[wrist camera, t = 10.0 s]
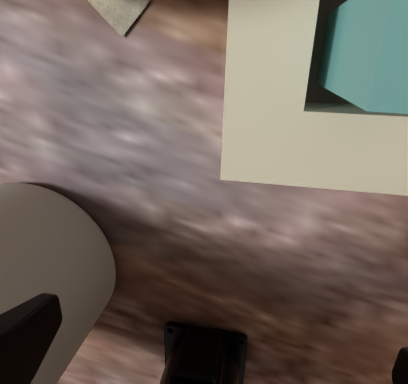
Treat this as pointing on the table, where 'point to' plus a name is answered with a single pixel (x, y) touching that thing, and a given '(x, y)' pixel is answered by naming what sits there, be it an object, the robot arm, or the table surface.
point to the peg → (368, 54)
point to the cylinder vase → (54, 265)
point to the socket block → (300, 108)
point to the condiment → (120, 12)
